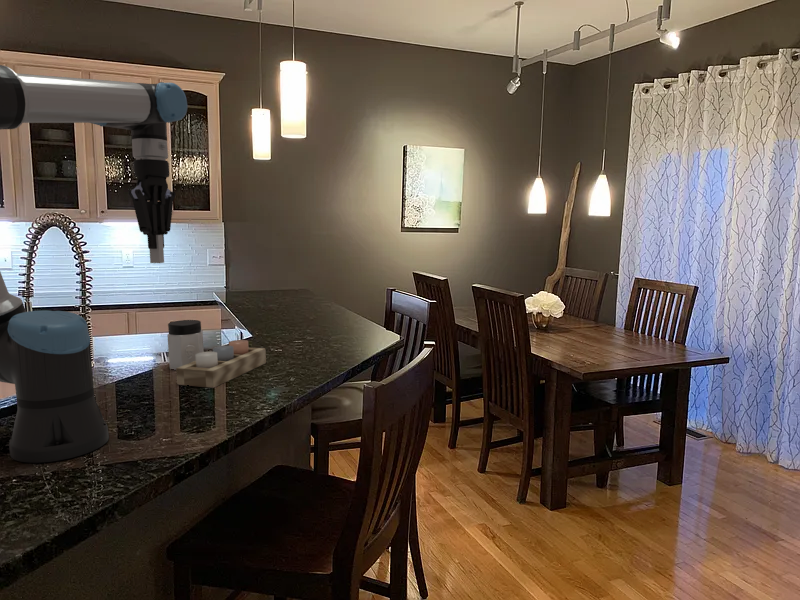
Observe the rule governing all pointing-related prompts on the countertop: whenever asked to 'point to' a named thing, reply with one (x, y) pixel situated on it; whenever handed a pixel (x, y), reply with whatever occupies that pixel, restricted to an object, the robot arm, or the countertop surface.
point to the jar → (184, 342)
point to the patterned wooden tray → (220, 369)
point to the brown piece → (240, 346)
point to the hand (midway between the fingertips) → (157, 262)
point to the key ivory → (206, 359)
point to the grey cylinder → (224, 352)
